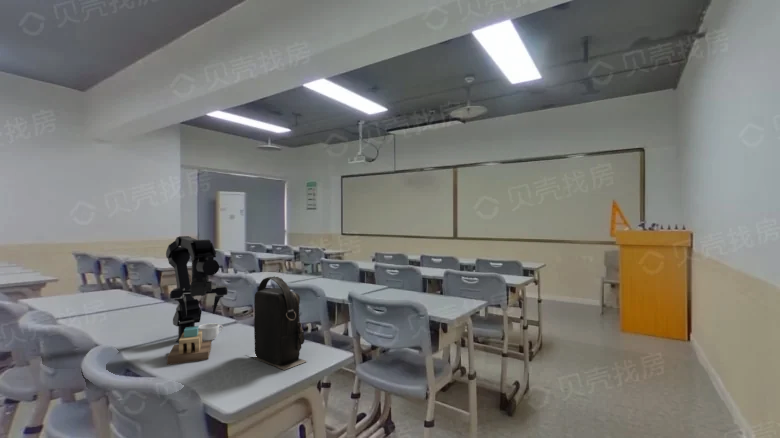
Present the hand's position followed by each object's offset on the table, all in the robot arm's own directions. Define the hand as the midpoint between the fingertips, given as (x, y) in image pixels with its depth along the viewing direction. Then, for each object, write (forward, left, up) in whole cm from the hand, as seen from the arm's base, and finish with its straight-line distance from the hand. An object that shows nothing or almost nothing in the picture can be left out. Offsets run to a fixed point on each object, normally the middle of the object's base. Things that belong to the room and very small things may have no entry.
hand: (200, 314), depth 134 cm
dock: (+8, -2, -12) cm, 15 cm away
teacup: (-10, +3, -12) cm, 16 cm away
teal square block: (+8, -2, -5) cm, 10 cm away
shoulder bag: (+23, +25, -12) cm, 36 cm away
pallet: (+8, -2, -10) cm, 13 cm away
